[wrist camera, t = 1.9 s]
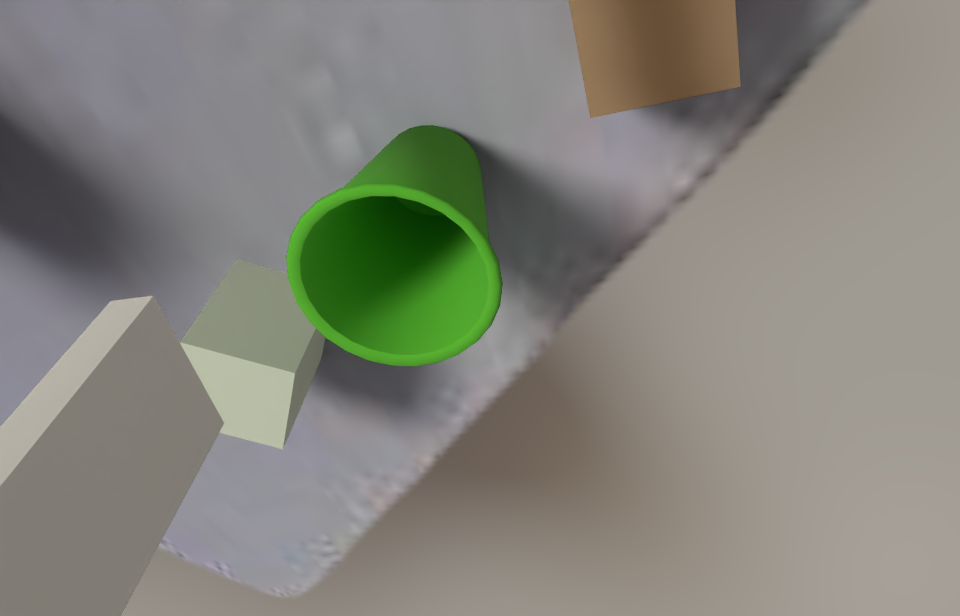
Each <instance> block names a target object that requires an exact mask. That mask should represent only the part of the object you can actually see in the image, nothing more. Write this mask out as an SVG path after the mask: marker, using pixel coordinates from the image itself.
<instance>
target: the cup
mask: <svg viewBox="0 0 960 616" xmlns="http://www.w3.org/2000/svg"><path fill="white" fill-rule="evenodd" d="M286 260H287V271H288V280H289V283H290V286H291V289H292V291H293V294H294V297H295V299H296V302H297V304H298V305H299V307H300V308H301V310H302V311H303V313H304V314H305V316H306V317H307V319H308V320H309V322H310V323H311V324H312V325H313V326H314V327H315V328H316V329H317V330H318V331H319V332H320V333H322V334H323V335H324V336H325V337H326V338H327V339H328V340H330V341H331V342H333V343H335V344H336V345H338V346H339V347H341V348H342V349H344V350H345V351H347V352H350V353H352V354H354V355H357V356H359V357H361V358H364V359H366V360H369V361H373V362H378V363H383V364H387V365H392V366H420V365H426V364H433V363H438V362H441V361H443V360H446V359H448V358H451V357H453V356H456V355H458V354H460V353H461V352H463V351H464V350H466V349H467V348H468V347H470V346H471V345H473V344H474V343H476V342H477V341H478V340H479V339H480V338H481V336H482V335H483V334H484V333H485V332H486V331H487V329H488V328H489V327H490V326H491V325H492V322H493V320H494V318H495V316H496V313H497V311H498V309H499V306H500V302H501V293H502V284H503V283H502V277H501V272H500V266H499V261H498V259H497V257H496V254H495V252H494V250H493V248H492V246H491V244H490V240H489V232H488V224H487V215H486V207H485V199H484V190H483V182H482V174H481V168H480V162H479V160H478V158H477V155H476V153H475V151H474V150H473V149H472V147H471V146H470V145H469V144H468V142H467V141H466V140H464V139H463V138H462V137H461V136H459V135H458V134H457V133H455V132H452V131H450V130H448V129H446V128H442V127H438V126H434V125H430V126H417V127H413V128H409V129H408V130H406V131H404V132H402V133H400V134H399V135H398V136H397V137H396V138H394V139H393V140H392V141H391V142H390V143H389V144H388V145H387V146H386V147H385V148H384V149H383V150H382V151H381V152H380V153H379V154H378V155H377V156H376V157H375V158H374V159H373V160H372V161H370V162H369V163H368V164H367V165H366V166H365V167H364V168H363V169H362V170H361V171H360V172H359V173H358V174H357V175H356V176H355V177H354V178H353V179H352V180H351V181H350V182H349V183H348V184H347V185H346V186H344V187H343V188H341V189H339V190H337V191H335V192H333V193H331V194H329V195H327V196H326V197H324V198H322V199H320V200H318V201H317V202H316V203H315V204H314V205H313V206H312V207H311V208H310V209H309V210H308V211H307V212H306V213H304V214H303V215H302V216H301V218H300V220H299V222H298V224H297V225H296V227H295V229H294V231H293V233H292V234H291V237H290V241H289V246H288V251H287V256H286Z"/></svg>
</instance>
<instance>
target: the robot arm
mask: <svg viewBox="0 0 960 616" xmlns="http://www.w3.org/2000/svg"><path fill="white" fill-rule="evenodd" d="M223 425H224V422H223V420H222V418H221V416H220V414H219V413H218V411H217V409H216V407H215V405H214V404H213V402H212V400H211V398H210V396H209V395H208V393H207V391H206V389H205V387H204V386H203V384H202V382H201V380H200V378H199V377H198V375H197V373H196V371H195V369H194V368H193V366H192V364H191V362H190V360H189V359H188V357H187V355H186V353H185V351H184V350H183V348H182V346H181V344H180V342H179V341H178V339H177V337H176V335H175V333H174V332H173V330H172V328H171V326H170V324H169V322H168V321H167V319H166V317H165V315H164V313H163V312H162V310H161V308H160V306H159V304H158V303H157V301H156V299H155V297H154V296H146V297H139V298H131V299H123V300H115V301H110V302H109V304H108V305H107V306H106V307H105V308H104V309H103V310H102V312H101V313H100V314H99V315H98V316H97V317H96V318H95V320H94V321H93V322H92V323H91V324H90V325H89V326H88V328H87V329H86V330H85V331H84V332H83V333H82V334H81V336H80V337H79V338H78V339H77V340H76V341H75V342H74V344H73V345H72V346H71V347H70V348H69V349H68V350H67V352H66V353H65V354H64V355H63V356H62V357H61V358H60V359H59V361H58V362H57V363H56V364H55V365H54V366H53V367H52V369H51V370H50V371H49V372H48V373H47V374H46V375H45V377H44V378H43V379H42V380H41V381H40V382H39V383H38V385H37V386H36V387H35V388H34V389H33V390H32V391H31V393H30V394H29V395H28V396H27V397H26V398H25V399H24V401H23V402H22V403H21V404H20V405H19V406H18V407H17V409H16V410H15V411H14V412H13V413H12V414H11V415H10V417H9V418H8V419H7V420H6V421H5V422H4V423H3V425H2V426H1V427H0V616H121V614H122V612H123V611H124V609H125V607H126V605H127V603H128V601H129V599H130V598H131V596H132V594H133V592H134V590H135V588H136V586H137V585H138V583H139V581H140V579H141V577H142V575H143V573H144V572H145V570H146V568H147V566H148V564H149V562H150V560H151V558H152V557H153V555H154V553H155V551H156V549H157V547H158V545H159V544H160V542H161V540H162V538H163V536H164V534H165V532H166V531H167V529H168V527H169V525H170V523H171V521H172V519H173V518H174V516H175V514H176V512H177V510H178V508H179V506H180V505H181V503H182V501H183V499H184V497H185V495H186V493H187V492H188V490H189V488H190V486H191V484H192V482H193V480H194V479H195V477H196V475H197V473H198V471H199V469H200V467H201V466H202V464H203V462H204V460H205V458H206V456H207V454H208V453H209V451H210V449H211V447H212V445H213V443H214V441H215V440H216V438H217V436H218V434H219V432H220V430H221V428H222V426H223Z"/></svg>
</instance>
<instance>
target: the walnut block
mask: <svg viewBox="0 0 960 616" xmlns="http://www.w3.org/2000/svg"><path fill="white" fill-rule="evenodd" d="M569 4H570V9H571V15H572V20H573V25H574V31H575V36H576V42H577V47H578V53H579V58H580V64H581V69H582V74H583V80H584V85H585V91H586V96H587V102H588V107H589V113H590V118H592V117H597V116H602V115H607V114H611V113H616V112H621V111H626V110H631V109H636V108H640V107H645V106H650V105H655V104H660V103H664V102H669V101H674V100H679V99H684V98H689V97H693V96H698V95H703V94H708V93H713V92H717V91H722V90H727V89H732V88H737V87H741V84H740V69H739V53H738V37H737V22H736V6H735V0H569Z"/></svg>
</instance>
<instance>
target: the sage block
mask: <svg viewBox="0 0 960 616" xmlns="http://www.w3.org/2000/svg"><path fill="white" fill-rule="evenodd" d="M324 342H325V336H324V335H323V334H322V333H320V332H319V331H318V330H317V329H316V328H315V327H314V326H313V325H312V324H311V323H310V322H309V320H308V319H307V317H306V316H305V314H304V313H303V311H302V310H301V308H300V307H299V305H298V304H297V302H296V299H295V297H294V294H293V291H292V289H291V286H290V283H289V280H288V273H284V272H281V271H277V270H274V269H270V268H267V267H263V266H259V265H256V264H252V263H249V262H245V261H241V260H238V259H237V260H236V261H235V263H234V264H233V266H232V267H231V269H230V270H229V271H228V273H227V274H226V276H225V277H224V279H223V280H222V282H221V283H220V285H219V286H218V288H217V289H216V290H215V292H214V293H213V295H212V296H211V298H210V299H209V301H208V302H207V304H206V305H205V306H204V308H203V309H202V311H201V312H200V314H199V315H198V317H197V318H196V320H195V321H194V323H193V324H192V325H191V327H190V328H189V330H188V331H187V333H186V334H185V336H184V337H183V339H182V340H181V342H180V344H181V346H182V348H183V350H184V351H185V353H186V355H187V357H188V359H189V360H190V362H191V364H192V366H193V368H194V369H195V371H196V373H197V375H198V377H199V378H200V380H201V382H202V384H203V386H204V387H205V389H206V391H207V393H208V395H209V396H210V398H211V400H212V402H213V404H214V405H215V407H216V409H217V411H218V413H219V414H220V416H221V418H222V420H223V422H224V425H223V426H222V428H221V430H220V432H219V433H223V434H227V435H230V436H234V437H238V438H242V439H246V440H250V441H253V442H257V443H261V444H265V445H269V446H273V447H276V448H280V449H283V448H284V445H285V443H286V441H287V438H288V436H289V433H290V431H291V429H292V426H293V424H294V422H295V419H296V417H297V415H298V412H299V410H300V408H301V405H302V403H303V401H304V398H305V396H306V394H307V391H308V389H309V387H310V384H311V382H312V380H313V377H314V375H315V373H316V370H317V368H318V365H319V363H320V361H321V358H322V353H323V347H324Z"/></svg>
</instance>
